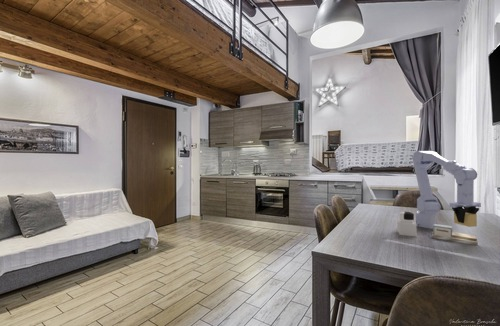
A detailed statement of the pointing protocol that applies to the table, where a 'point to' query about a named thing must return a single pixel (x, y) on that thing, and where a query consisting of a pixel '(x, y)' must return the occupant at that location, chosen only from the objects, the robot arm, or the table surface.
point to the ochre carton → (467, 220)
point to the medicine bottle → (406, 224)
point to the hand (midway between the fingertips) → (465, 222)
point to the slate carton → (442, 230)
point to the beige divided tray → (459, 238)
